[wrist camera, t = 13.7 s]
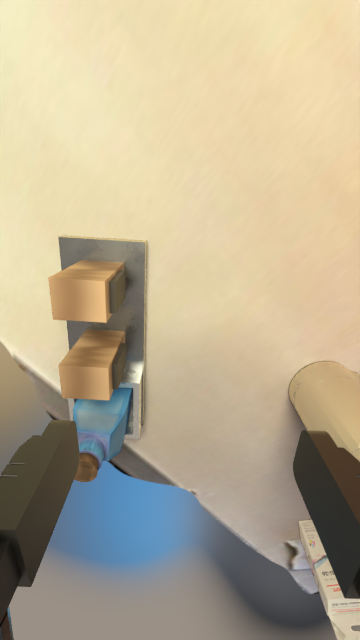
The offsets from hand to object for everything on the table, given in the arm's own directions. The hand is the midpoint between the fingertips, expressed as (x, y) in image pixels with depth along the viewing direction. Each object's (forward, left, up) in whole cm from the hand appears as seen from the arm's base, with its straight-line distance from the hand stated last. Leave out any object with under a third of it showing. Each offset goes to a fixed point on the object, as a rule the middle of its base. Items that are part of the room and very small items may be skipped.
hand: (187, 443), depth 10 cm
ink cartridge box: (-29, +47, -28) cm, 62 cm away
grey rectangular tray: (+10, +10, -27) cm, 31 cm away
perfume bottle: (+10, +19, -26) cm, 33 cm away
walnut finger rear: (+10, +10, -26) cm, 29 cm away
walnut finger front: (+10, +1, -26) cm, 28 cm away
